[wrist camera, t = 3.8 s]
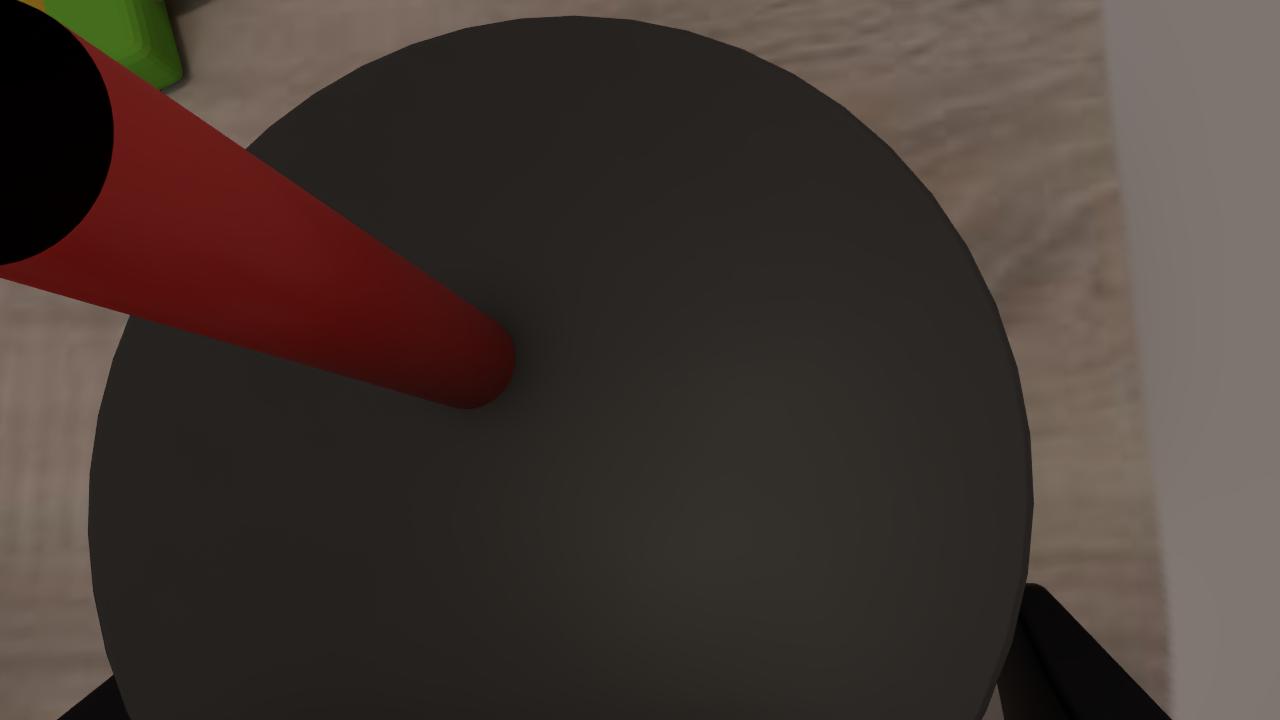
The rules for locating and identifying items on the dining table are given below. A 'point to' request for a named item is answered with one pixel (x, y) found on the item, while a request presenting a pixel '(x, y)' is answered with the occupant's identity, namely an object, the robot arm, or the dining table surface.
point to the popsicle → (124, 33)
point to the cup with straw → (525, 388)
